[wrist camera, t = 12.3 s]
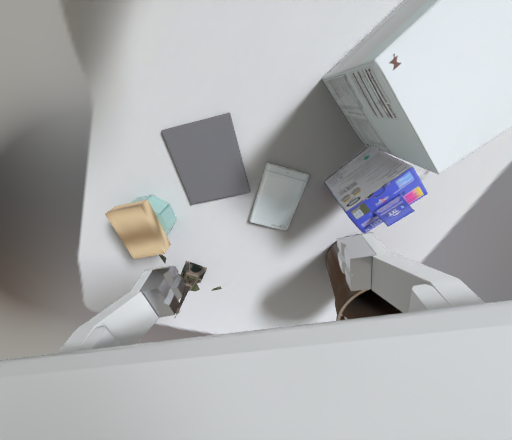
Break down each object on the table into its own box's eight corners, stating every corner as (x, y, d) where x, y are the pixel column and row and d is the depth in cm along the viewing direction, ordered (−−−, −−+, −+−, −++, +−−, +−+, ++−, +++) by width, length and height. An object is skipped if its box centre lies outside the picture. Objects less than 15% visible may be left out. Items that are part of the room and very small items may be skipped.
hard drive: (287, 231, 45) (310, 176, 39) (249, 222, 44) (266, 163, 38) (286, 227, 47) (308, 173, 41) (249, 218, 46) (266, 161, 40)
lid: (115, 206, 40) (104, 214, 37) (147, 199, 39) (139, 206, 36) (141, 249, 44) (133, 259, 42) (170, 244, 44) (164, 253, 41)
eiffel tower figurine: (158, 251, 51) (126, 297, 39) (196, 240, 49) (175, 284, 38) (188, 295, 58) (169, 344, 46) (223, 286, 56) (212, 336, 44)
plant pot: (343, 213, 44) (380, 267, 30) (407, 240, 47) (469, 301, 33) (303, 269, 52) (318, 333, 37) (361, 289, 54) (395, 356, 40)
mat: (162, 130, 37) (161, 130, 37) (229, 112, 36) (229, 112, 35) (192, 202, 44) (191, 204, 43) (250, 191, 42) (249, 192, 42)
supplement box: (363, 145, 38) (435, 180, 22) (319, 78, 33) (369, 60, 17) (472, 61, 31) (681, 25, 16) (435, -35, 27) (678, -223, 11)
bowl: (124, 200, 44) (110, 210, 40) (164, 192, 43) (154, 201, 39) (144, 236, 48) (134, 248, 44) (181, 229, 47) (174, 241, 43)
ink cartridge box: (338, 201, 43) (370, 245, 30) (322, 182, 41) (348, 219, 28) (386, 168, 39) (443, 201, 27) (370, 144, 37) (424, 168, 25)
